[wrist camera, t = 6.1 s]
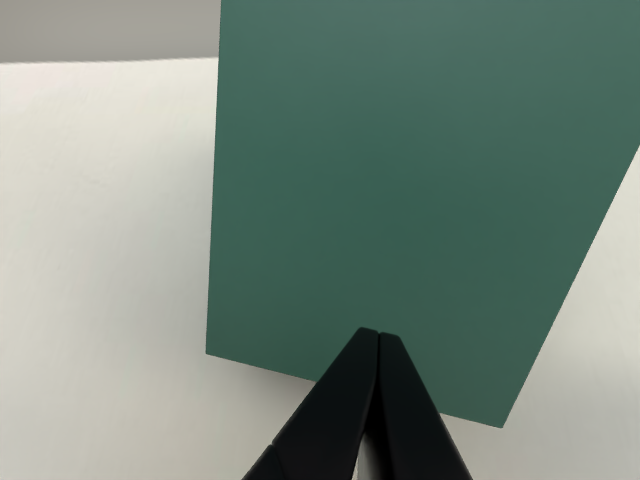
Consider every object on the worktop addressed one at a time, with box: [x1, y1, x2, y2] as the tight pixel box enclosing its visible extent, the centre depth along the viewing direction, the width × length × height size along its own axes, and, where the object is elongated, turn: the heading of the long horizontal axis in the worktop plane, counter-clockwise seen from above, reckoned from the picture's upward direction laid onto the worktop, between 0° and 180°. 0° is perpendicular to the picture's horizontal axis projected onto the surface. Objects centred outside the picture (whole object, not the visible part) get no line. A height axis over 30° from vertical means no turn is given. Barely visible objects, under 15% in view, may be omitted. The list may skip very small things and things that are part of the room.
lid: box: [206, 0, 640, 428], centre depth 11 cm, size 13×10×1 cm
